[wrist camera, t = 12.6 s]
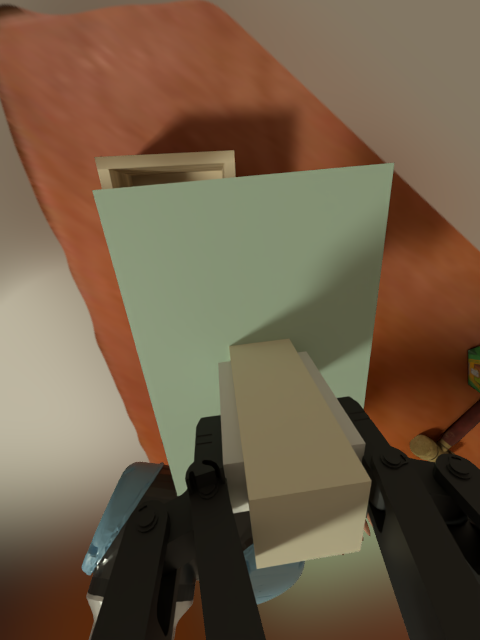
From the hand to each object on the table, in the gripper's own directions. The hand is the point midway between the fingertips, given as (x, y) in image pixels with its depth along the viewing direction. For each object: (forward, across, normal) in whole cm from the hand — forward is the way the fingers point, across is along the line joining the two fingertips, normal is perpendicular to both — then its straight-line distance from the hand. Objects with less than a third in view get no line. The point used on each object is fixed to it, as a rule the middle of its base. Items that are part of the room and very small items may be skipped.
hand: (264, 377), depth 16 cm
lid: (+3, 0, 0) cm, 3 cm away
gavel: (+27, -45, +38) cm, 65 cm away
